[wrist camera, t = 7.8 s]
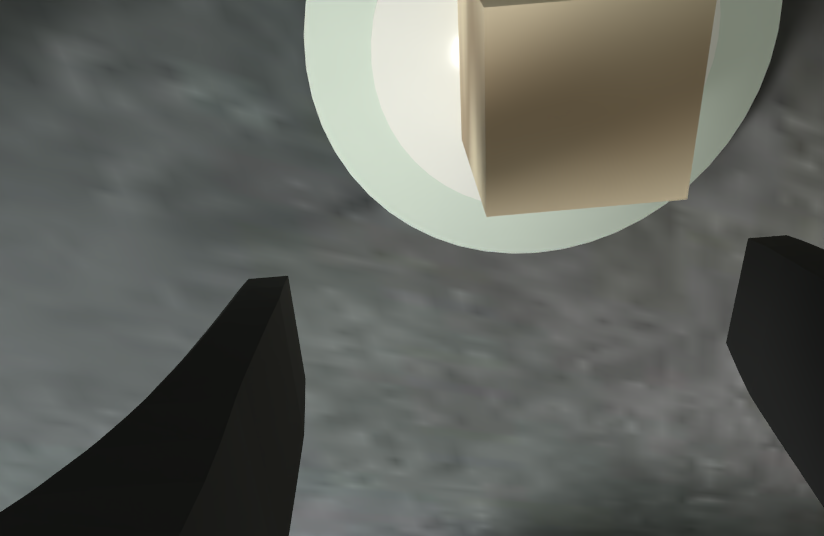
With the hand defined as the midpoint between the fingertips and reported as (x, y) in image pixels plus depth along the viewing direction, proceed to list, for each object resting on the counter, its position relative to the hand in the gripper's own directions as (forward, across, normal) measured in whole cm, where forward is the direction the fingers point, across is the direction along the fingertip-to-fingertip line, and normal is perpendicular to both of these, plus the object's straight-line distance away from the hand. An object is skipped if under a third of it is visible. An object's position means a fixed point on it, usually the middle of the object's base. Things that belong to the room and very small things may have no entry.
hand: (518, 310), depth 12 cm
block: (+7, -2, -2) cm, 8 cm away
